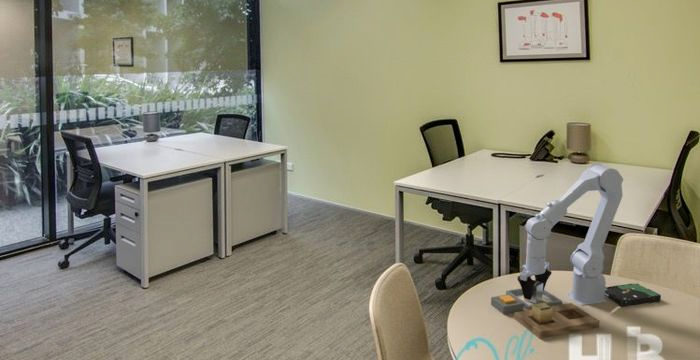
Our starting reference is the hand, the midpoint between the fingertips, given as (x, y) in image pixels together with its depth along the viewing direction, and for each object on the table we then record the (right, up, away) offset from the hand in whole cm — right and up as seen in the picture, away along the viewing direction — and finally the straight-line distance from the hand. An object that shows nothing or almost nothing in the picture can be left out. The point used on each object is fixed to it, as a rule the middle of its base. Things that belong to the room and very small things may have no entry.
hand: (533, 295), depth 163 cm
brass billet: (-4, -5, -16) cm, 17 cm away
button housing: (-10, -3, -4) cm, 11 cm away
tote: (0, -2, 0) cm, 2 cm away
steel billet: (0, -2, 0) cm, 2 cm away
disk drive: (+32, -2, +2) cm, 32 cm away
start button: (-10, -3, -4) cm, 11 cm away
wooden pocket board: (+1, -5, -14) cm, 15 cm away
